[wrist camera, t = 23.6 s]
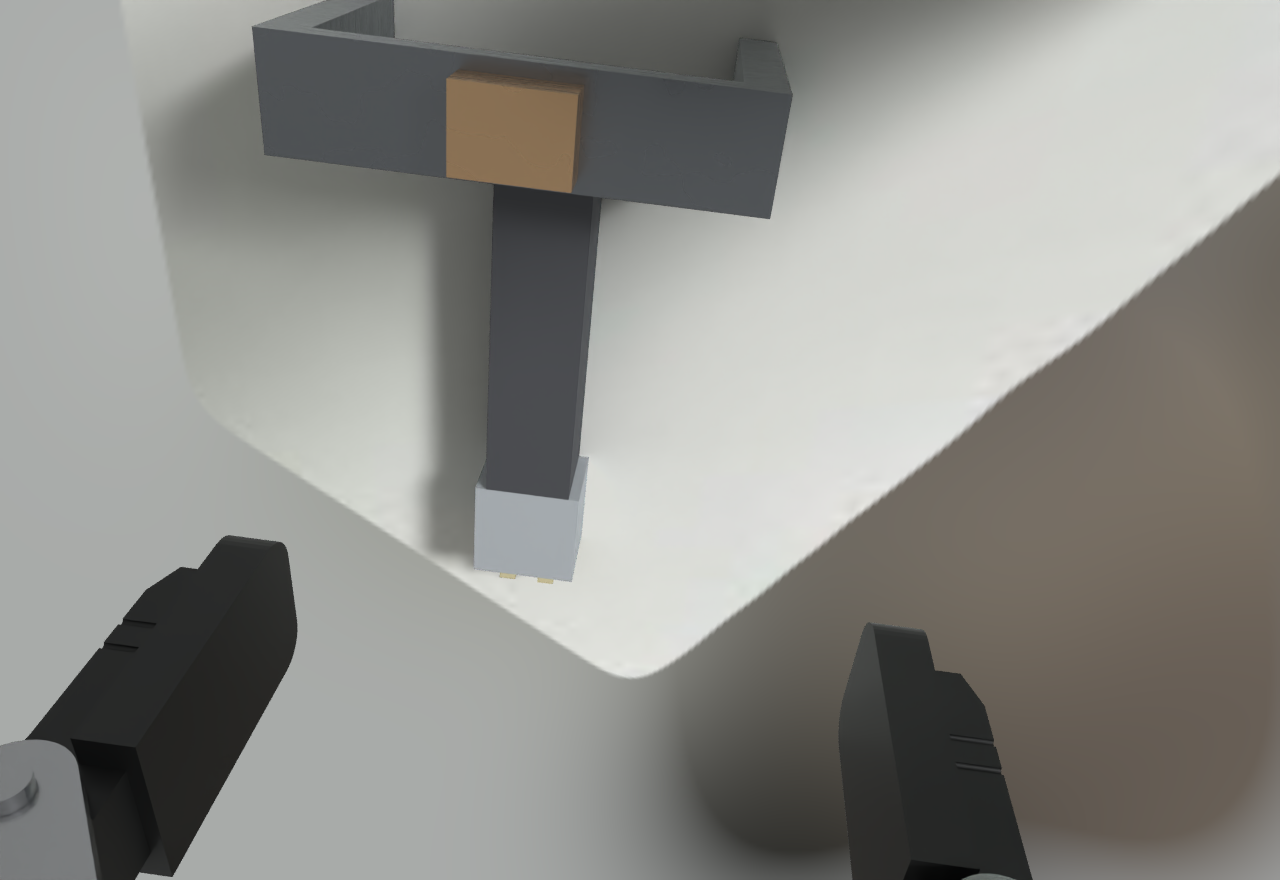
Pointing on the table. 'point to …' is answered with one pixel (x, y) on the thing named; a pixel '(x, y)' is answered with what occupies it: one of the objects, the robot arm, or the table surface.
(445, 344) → the table surface
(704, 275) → the table surface
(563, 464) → the grey two-tone block
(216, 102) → the table surface
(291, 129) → the u-shaped bracket
